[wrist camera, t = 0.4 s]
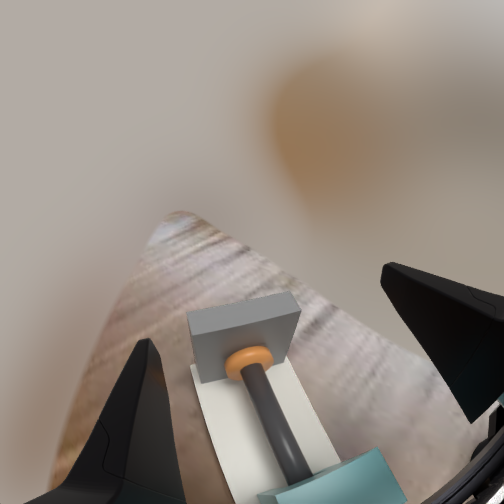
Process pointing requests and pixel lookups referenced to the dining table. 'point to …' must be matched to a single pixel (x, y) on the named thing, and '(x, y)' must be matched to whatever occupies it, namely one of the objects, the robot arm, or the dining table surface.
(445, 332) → the robot arm
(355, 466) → the teal block on rod
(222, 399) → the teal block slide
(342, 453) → the dining table surface
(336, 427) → the dining table surface
